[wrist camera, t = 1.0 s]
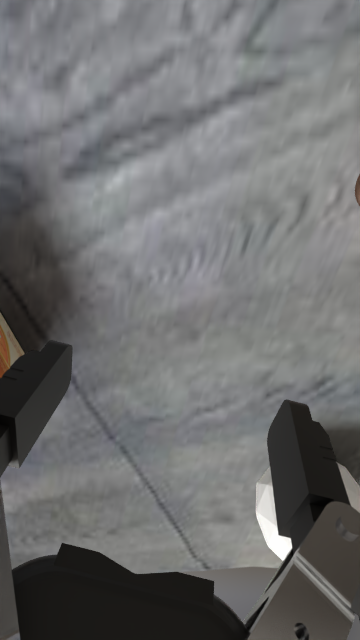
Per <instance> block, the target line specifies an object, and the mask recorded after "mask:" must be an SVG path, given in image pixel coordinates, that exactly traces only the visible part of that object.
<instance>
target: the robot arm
mask: <svg viewBox="0 0 360 640" xmlns="http://www.w3.org/2000/svg"><path fill="white" fill-rule="evenodd" d="M71 370H72V345H69V344H65V343H61V342H57V341H53V340H50V341H49V342H48V343H47V344H46V345H45V347H44V348H43V349H42V350H41V351H40V352H39V351H35V350H31V351H30V352H28V353H26V354H24V355H22V356H20V357H19V358H18V359H17V360H16V361H15V362H14V363H13V364H12V365H11V366H10V369H8V370H7V371H6V372H5V373H4V374H3V375H2V378H1V377H0V477H1V475H2V474H3V472H4V471H5V469H6V468H7V466H11V467H15V468H18V469H19V468H20V466H21V465H22V463H23V461H24V460H25V458H26V457H27V455H28V453H29V452H30V450H31V448H32V447H33V445H34V444H35V442H36V440H37V439H38V437H39V435H40V434H41V432H42V431H43V429H44V427H45V426H46V424H47V422H48V421H49V419H50V418H51V416H52V414H53V413H54V411H55V409H56V408H57V406H58V405H59V403H60V401H61V400H62V398H63V396H64V395H65V393H66V391H67V389H68V387H69V384H70V380H71ZM267 445H268V453H269V461H270V470H271V478H272V486H273V495H274V503H275V511H276V520H277V528H278V535H280V536H284V537H288V538H291V543H292V549H291V550H290V551H289V553H288V554H287V556H286V557H285V559H284V561H283V562H282V564H281V565H280V567H279V568H278V570H277V572H276V573H275V575H274V577H273V578H272V579H271V581H270V582H269V584H268V586H267V587H266V589H265V590H264V592H263V593H262V595H261V597H260V598H259V600H258V601H257V603H256V604H255V606H254V607H253V608H252V610H251V611H250V612H249V614H248V615H247V617H246V618H245V620H244V621H243V622H242V621H241V619H240V618H239V617H238V616H237V614H236V613H235V612H234V611H233V610H232V609H231V608H230V607H229V606H228V605H227V604H226V603H225V602H223V601H222V600H221V599H220V598H218V597H217V596H215V595H214V581H211V580H207V579H203V578H199V577H195V576H191V575H187V574H183V573H179V572H166V573H151V574H135V573H132V572H131V571H129V570H127V569H126V568H124V567H122V566H121V565H119V564H118V563H116V562H114V561H113V560H111V559H109V558H108V557H106V556H105V555H103V554H101V553H100V552H96V551H92V550H88V549H84V548H80V547H76V546H72V545H68V544H65V543H62V544H61V547H60V549H59V552H58V554H57V555H48V556H43V557H39V558H36V559H33V560H30V561H28V562H26V563H24V564H21V565H19V566H18V567H16V568H14V569H13V570H12V567H11V559H10V552H9V544H8V536H7V528H6V521H5V513H4V505H3V497H2V489H1V482H0V640H347V637H348V635H349V632H350V629H351V627H352V624H353V621H354V613H355V614H357V615H358V616H359V620H360V513H359V512H358V511H357V510H356V509H354V508H353V507H351V504H350V501H349V498H348V495H347V492H346V489H345V486H344V483H343V480H342V476H341V473H340V470H339V467H338V464H337V463H336V458H335V455H334V452H333V451H332V449H333V448H332V445H331V442H330V439H329V436H328V434H327V433H326V432H325V430H324V429H323V427H322V426H321V425H320V423H319V422H315V421H312V418H311V414H310V410H309V407H308V406H307V405H306V404H302V403H298V402H294V401H290V400H285V401H284V402H283V403H282V405H281V407H280V409H279V411H278V413H277V415H276V417H275V418H274V420H273V422H272V424H271V426H270V429H269V432H268V438H267Z"/></svg>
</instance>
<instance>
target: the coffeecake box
mask: <svg viewBox="0 0 360 640" xmlns="http://www.w3.org/2000/svg"><path fill="white" fill-rule="evenodd" d="M24 354H25V353H24V352H23V350H22V348H21V347H20V345H19V343H18V341H17V340H16V338H15V336H14V335H13V333H12V331H11V329H10V328H9V326H8V324H7V323H6V321H5V319H4V317H3V316H2V314H1V312H0V377H1V378H2V375H3V374H4V373H5V372H6V371H7V370H8V369H10V366H11V365H12V364H13V363H14V362H15V361H16V360H17V359H18V358H19V357H20V356H22V355H24Z"/></svg>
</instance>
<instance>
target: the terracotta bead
mask: <svg viewBox="0 0 360 640" xmlns="http://www.w3.org/2000/svg"><path fill="white" fill-rule="evenodd" d="M355 196H356V200H357V202H358V204H359V206H360V175H359V177H358V179H357V182H356V186H355Z"/></svg>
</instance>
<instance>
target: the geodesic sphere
mask: <svg viewBox="0 0 360 640" xmlns="http://www.w3.org/2000/svg"><path fill="white" fill-rule="evenodd" d="M336 463H337V462H336ZM337 464H338V467H339V470H340V473H341V476H342V480H343V483H344V486H345V489H346V492H347V495H348V498H349V501H350V504H351V507H353V508H354V509H356V510H357V511H358V512H359V513H360V486H359V485H358V484H357V482H356V481H355V480H354V478H353V477H352V476H351V474H350V473H349V471H348V470H347V469H346V467H344V466H342V465H341V464H339V463H337ZM256 515H257V519H258V522H259V525H260V527H261V530H262V532H263V535H264V537H265V540H266V543H267V545H268V547H269V548H270V549H271V550H272V551H273V552H274V553H275V554H276V555H277V556H278V557H280V558H281V559H282V560H283V561H284V559H285V557H286V556H287V554H288V553H289V551H290V550H291V549H292V543H291V538H288V537H284V536H280V535H278V528H277V520H276V511H275V503H274V495H273V486H272V478H271V470H270V467H269V468H268V469H267V470H266V472H265V473H264V474H263V476H262V477H261V478H260V479H259V481H258V482H257V483H256Z"/></svg>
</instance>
